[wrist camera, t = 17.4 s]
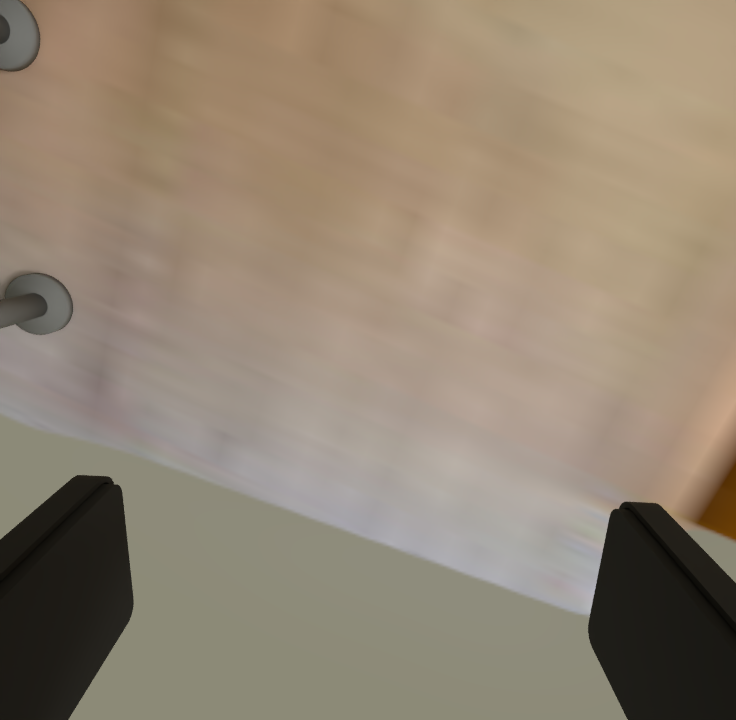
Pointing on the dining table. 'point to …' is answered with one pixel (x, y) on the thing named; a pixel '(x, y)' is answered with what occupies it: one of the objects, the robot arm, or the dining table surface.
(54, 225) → the dining table surface
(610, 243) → the dining table surface
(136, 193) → the dining table surface
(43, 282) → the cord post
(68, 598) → the robot arm
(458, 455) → the dining table surface
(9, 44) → the post
